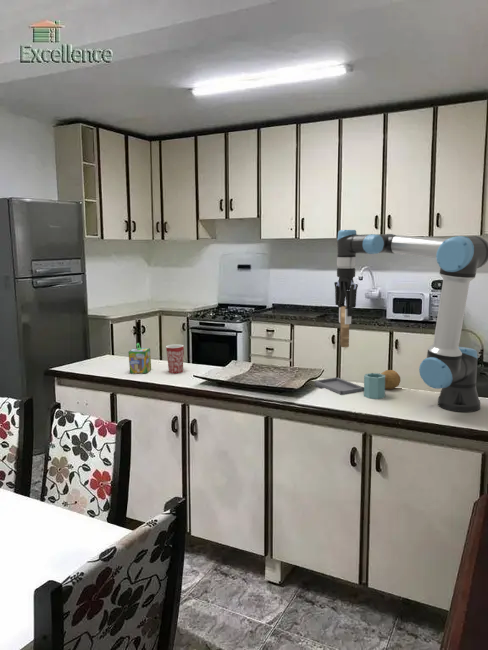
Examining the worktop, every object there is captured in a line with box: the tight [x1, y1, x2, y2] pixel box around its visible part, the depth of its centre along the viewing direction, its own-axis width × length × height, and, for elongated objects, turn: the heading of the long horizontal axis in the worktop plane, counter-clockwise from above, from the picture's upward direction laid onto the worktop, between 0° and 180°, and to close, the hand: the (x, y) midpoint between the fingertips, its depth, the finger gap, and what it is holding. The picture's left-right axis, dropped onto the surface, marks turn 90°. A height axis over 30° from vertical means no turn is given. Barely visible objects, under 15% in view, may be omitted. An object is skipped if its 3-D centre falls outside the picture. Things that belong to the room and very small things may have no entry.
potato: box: [380, 369, 401, 390], centre depth 227 cm, size 10×14×8 cm
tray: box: [314, 377, 364, 396], centre depth 228 cm, size 20×12×2 cm, turn 25°
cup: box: [363, 372, 386, 400], centre depth 214 cm, size 8×8×10 cm
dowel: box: [339, 305, 350, 348], centre depth 222 cm, size 4×4×17 cm
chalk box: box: [127, 342, 152, 375], centre depth 270 cm, size 9×9×15 cm
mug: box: [165, 343, 185, 374], centre depth 269 cm, size 13×9×14 cm
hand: (344, 323), depth 222 cm, fingers closed on dowel, 3 cm apart
